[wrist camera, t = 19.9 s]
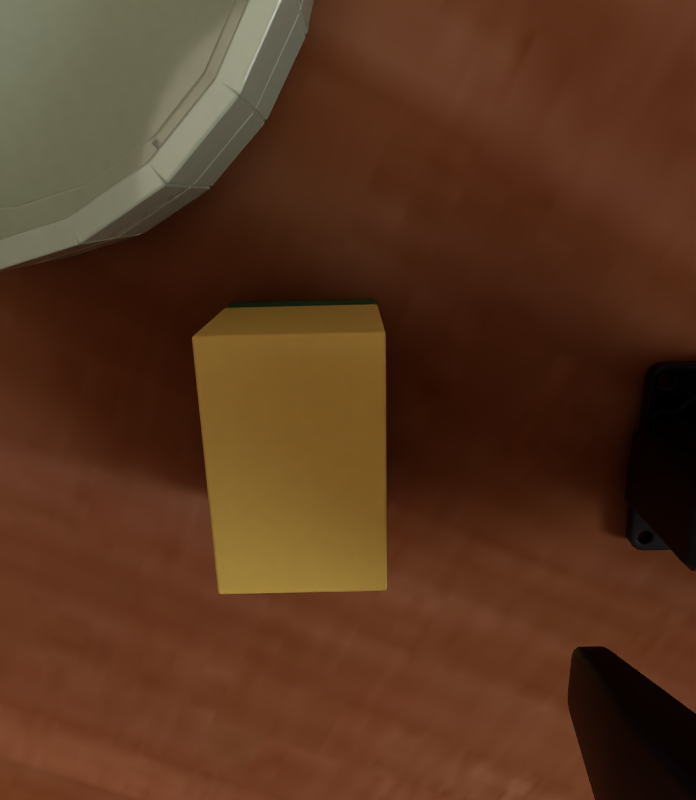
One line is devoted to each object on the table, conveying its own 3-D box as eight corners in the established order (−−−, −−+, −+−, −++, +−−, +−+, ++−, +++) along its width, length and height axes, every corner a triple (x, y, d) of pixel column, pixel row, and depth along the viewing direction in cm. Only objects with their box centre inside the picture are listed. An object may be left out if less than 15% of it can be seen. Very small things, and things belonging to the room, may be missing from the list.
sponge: (376, 298, 19) (385, 332, 14) (378, 503, 21) (386, 591, 16) (230, 302, 19) (190, 336, 14) (246, 506, 21) (217, 595, 16)
